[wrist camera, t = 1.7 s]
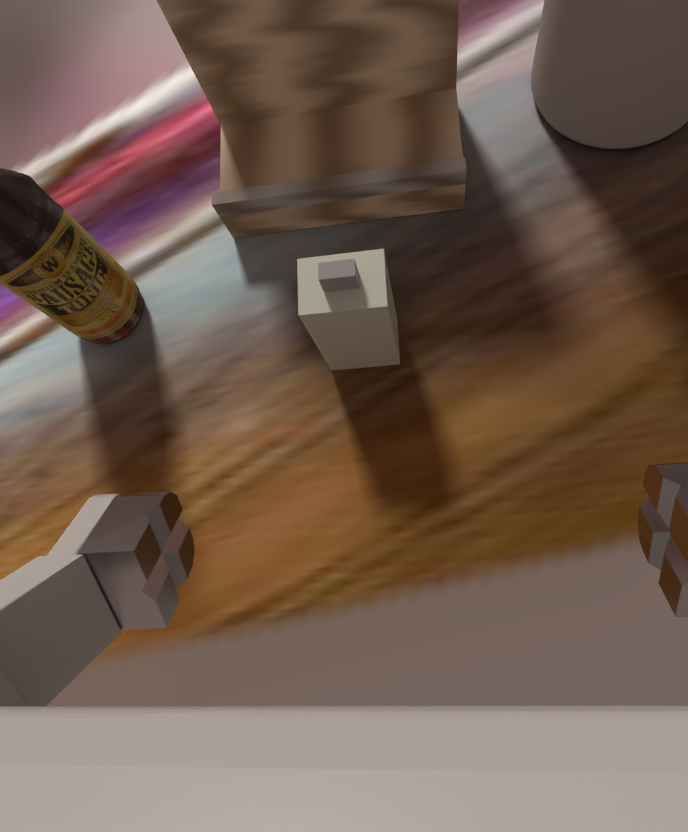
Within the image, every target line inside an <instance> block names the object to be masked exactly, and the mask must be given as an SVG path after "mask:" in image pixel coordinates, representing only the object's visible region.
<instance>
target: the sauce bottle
mask: <svg viewBox="0 0 688 832" xmlns="http://www.w3.org/2000/svg"><path fill="white" fill-rule="evenodd" d="M0 283H1V284H2V285H3V286H5V287H6V288H8V289H9V290H11V291H12V292H14V293H15V294H16V295H18V296H19V297H21V298H22V299H24V300H25V301H27V302H28V303H30V304H31V305H33V306H34V307H36V308H37V309H39V310H40V311H41V312H43V313H44V314H46V315H47V316H49V317H50V318H51V319H53V320H54V321H56V322H57V323H59V324H60V325H62V326H63V327H65V328H66V329H67V330H69V331H70V332H72V333H73V334H75V335H77V336H79V337H82V338H83V339H85V340H87V341H90V342H93V343H99V344H106V343H110V342H114V341H116V340H119V339H121V338H122V337H125V336H126V335H127V334H128V333H130V332H131V331H132V330H133V328H134V327H135V325H136V324H137V322H138V320H139V317H140V314H141V312H142V308H143V300H142V297H141V293H140V291H139V289H138V287H137V285H136V283H135V282H134V281H133V279H132V277H131V276H130V275H129V274H128V273H127V272H126V271H125V270H124V269H123V268H122V267H121V266H120V265H119V264H118V263H117V262H116V261H115V260H114V259H113V258H112V257H111V256H110V255H109V254H108V253H107V252H106V251H105V250H104V249H103V247H102V246H101V245H100V244H99V243H98V242H97V241H96V240H95V239H94V238H93V237H92V236H91V235H90V234H89V233H88V232H87V231H86V230H85V229H84V228H83V227H82V226H81V225H80V224H79V223H78V222H77V221H76V220H75V219H74V218H73V217H72V216H71V215H70V214H68V213H67V212H66V211H65V210H64V209H63V208H62V207H61V206H60V205H59V204H58V203H56V202H55V201H54V200H52V199H51V198H50V197H49V196H48V195H47V194H46V193H45V192H44V191H43V190H42V189H41V188H40V187H39V186H38V184H37V183H36V182H35V181H34V180H33V179H32V178H31V177H30V176H28V175H25V174H22V173H18V172H15V171H12V170H7V169H1V168H0Z"/></svg>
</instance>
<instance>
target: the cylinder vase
mask: <svg viewBox="0 0 688 832" xmlns="http://www.w3.org/2000/svg"><path fill="white" fill-rule="evenodd" d="M531 86H532V92H533V97H534V100H535V102H536V105H537V107H538V109H539V111H540V112H541V114H542V115H543V117H544V118H545V119H546V121H547V122H548V123H549V124H550V125H551V126H552V127H553V128H554V129H556V130H557V131H558V132H560V133H561V134H563V135H564V136H566V137H567V138H569V139H571V140H573V141H576V142H578V143H581V144H584V145H587V146H591V147H596V148H603V149H627V148H634V147H639V146H643V145H647V144H650V143H653V142H655V141H658V140H660V139H662V138H664V137H666V136H668V135H670V134H672V133H673V132H675V131H676V130H678V129H679V128H681V127H682V126H683V125H684V124H685V123H687V122H688V0H545V1H544V6H543V12H542V17H541V23H540V28H539V34H538V39H537V45H536V50H535V56H534V61H533V66H532V73H531Z"/></svg>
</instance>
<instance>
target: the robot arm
mask: <svg viewBox="0 0 688 832" xmlns="http://www.w3.org/2000/svg"><path fill="white" fill-rule="evenodd" d="M643 486H644V488H645V490H646V492H647V494H648V495H649V497H648V498H647V499H646V500H645V501H644V502H643V503H642V504H641V505H640V506H639V513H638V532H639V540H640V543H641V546H642V550H643V552H644V554H645V556H646V558H647V561H648V562H649V563H650V564H652V565H653V566H655V567H656V568H658V569H659V570H661V574H660V579H659V585H660V587H661V589H662V591H663V593H664V595H665V597H666V599H667V601H668V602H669V605H670V607H671V609H672V611H673V613H674V615H675V616H676V617H688V462H684V463H668V464H652V465H648V467H647V469H646V471H645V474H644V480H643ZM181 511H182V507H181V504H180V502H179V499H178V497H177V495H176V494H174V493H172V492H149V493H122V494H103V495H95V496H93V497H91V498H89V499H88V500H87V502H86V503H85V505H84V506H83V507H82V509H81V510H80V511H79V513H78V514H77V515H76V517H75V518H74V520H73V521H72V522H71V524H70V525H69V526H68V528H67V529H66V530H65V532H64V533H63V535H62V536H61V537H60V539H59V540H58V541H57V543H56V544H55V545H54V547H53V548H52V550H51V551H50V552H49V554H48V555H47V556H39V557H37V558H35V559H34V560H32V561H31V562H29V563H27V564H26V565H24V566H22V567H21V568H19V569H18V570H16V571H14V572H13V573H11V574H10V575H8V576H6V577H5V578H3V579H2V580H0V832H688V706H47V705H48V704H49V703H50V702H51V701H52V700H53V699H54V698H55V697H56V696H57V695H58V694H59V693H60V692H61V691H62V690H63V689H64V688H65V687H66V686H67V685H68V684H69V683H70V682H71V681H72V680H73V679H74V678H75V677H76V676H77V675H78V674H80V673H81V672H82V671H83V670H84V669H85V668H86V667H87V666H88V665H89V664H90V663H91V662H92V661H93V660H94V659H95V658H96V657H97V656H98V655H99V654H100V653H101V652H102V651H103V650H104V649H105V648H106V647H107V646H108V645H109V644H110V643H111V642H112V641H113V640H114V639H116V638H117V637H118V636H119V635H120V634H121V630H134V629H153V628H167V626H168V624H169V622H170V619H171V617H172V615H173V612H174V610H175V608H176V605H177V603H178V600H179V598H180V597H179V595H178V592H177V589H176V588H177V587H178V586H179V585H180V584H181V583H183V582H184V581H185V580H186V579H188V576H189V574H190V571H191V569H192V566H193V558H194V544H193V537H192V535H191V532H190V529H189V527H188V526H186V525H185V524H184V523H183V522H181V521H180V520H179V519H178V518H179V516H180V513H181Z"/></svg>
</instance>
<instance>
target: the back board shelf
mask: <svg viewBox="0 0 688 832" xmlns="http://www.w3.org/2000/svg"><path fill="white" fill-rule="evenodd" d="M157 2H158V3H159V5H160V7H161V9H162V11H163V13H164V15H165V17H166V19H167V21H168V23H169V25H170V27H171V29H172V31H173V33H174V35H175V36H176V38H177V41H178V42H179V44H180V46H181V48H182V50H183V52H184V54H185V56H186V58H187V60H188V62H189V64H190V66H191V68H192V70H193V72H194V74H195V76H196V78H197V79H198V81H199V83H200V85H201V87H202V89H203V91H204V93H205V95H206V97H207V99H208V101H209V103H210V105H211V107H212V109H213V111H214V113H215V115H216V117H217V118H218V120H219V122H220V124H221V157H220V192H213V193H212V206H213V207H214V209H215V210H216V212H217V213H218V215H219V217H220V218H221V220H222V221H223V223H224V224H225V226H226V227H227V229H228V230H229V232H230V233H231V235H232V236H233V238H236V237H244V236H252V235H260V234H268V233H276V232H284V231H292V230H299V229H307V228H315V227H323V226H331V225H339V224H347V223H355V222H363V221H370V220H378V219H386V218H394V217H402V216H410V215H418V214H426V213H433V212H441V211H449V210H457V209H464V205H465V189H466V172H467V169H466V159H465V157H463V151H462V141H461V132H460V122H459V112H458V102H457V92H456V75H457V40H458V5H459V0H157Z"/></svg>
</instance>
